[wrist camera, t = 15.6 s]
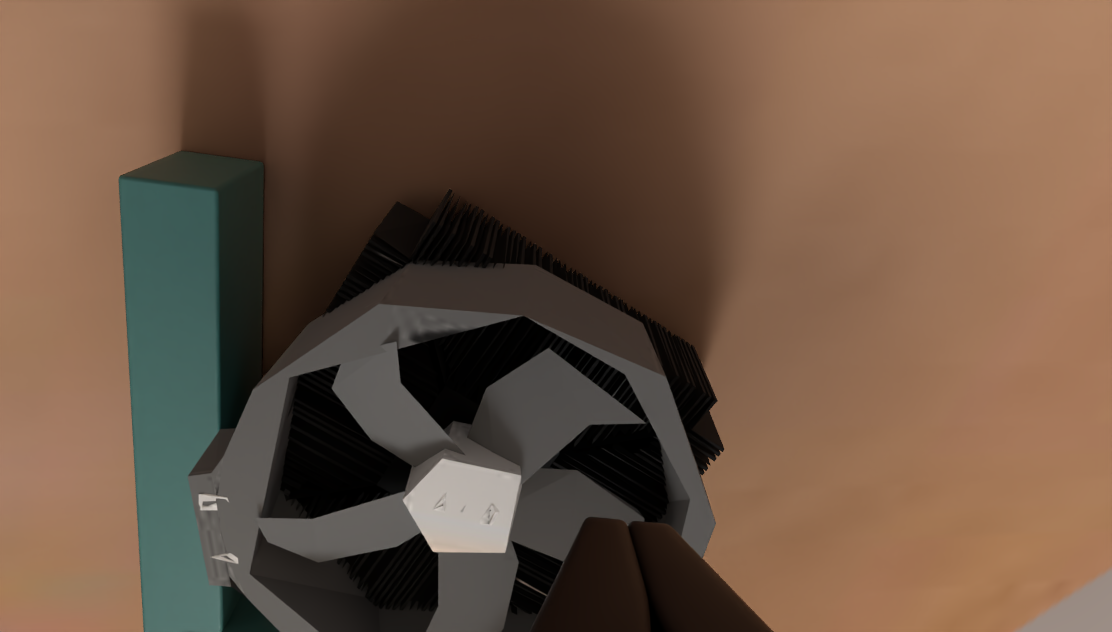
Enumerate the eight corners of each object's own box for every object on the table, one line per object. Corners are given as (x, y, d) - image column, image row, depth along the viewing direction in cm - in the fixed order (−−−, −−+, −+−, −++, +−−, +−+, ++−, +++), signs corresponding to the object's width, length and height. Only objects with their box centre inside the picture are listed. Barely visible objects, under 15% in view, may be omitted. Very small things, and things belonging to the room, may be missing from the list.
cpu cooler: (819, 477, 16) (534, 787, 19) (750, 357, 21) (536, 614, 24) (356, 186, 14) (116, 590, 17) (408, 134, 19) (219, 447, 22)
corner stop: (179, 149, 19) (115, 175, 16) (718, 222, 20) (746, 258, 17) (191, 604, 24) (145, 684, 21) (625, 648, 25) (635, 731, 22)
